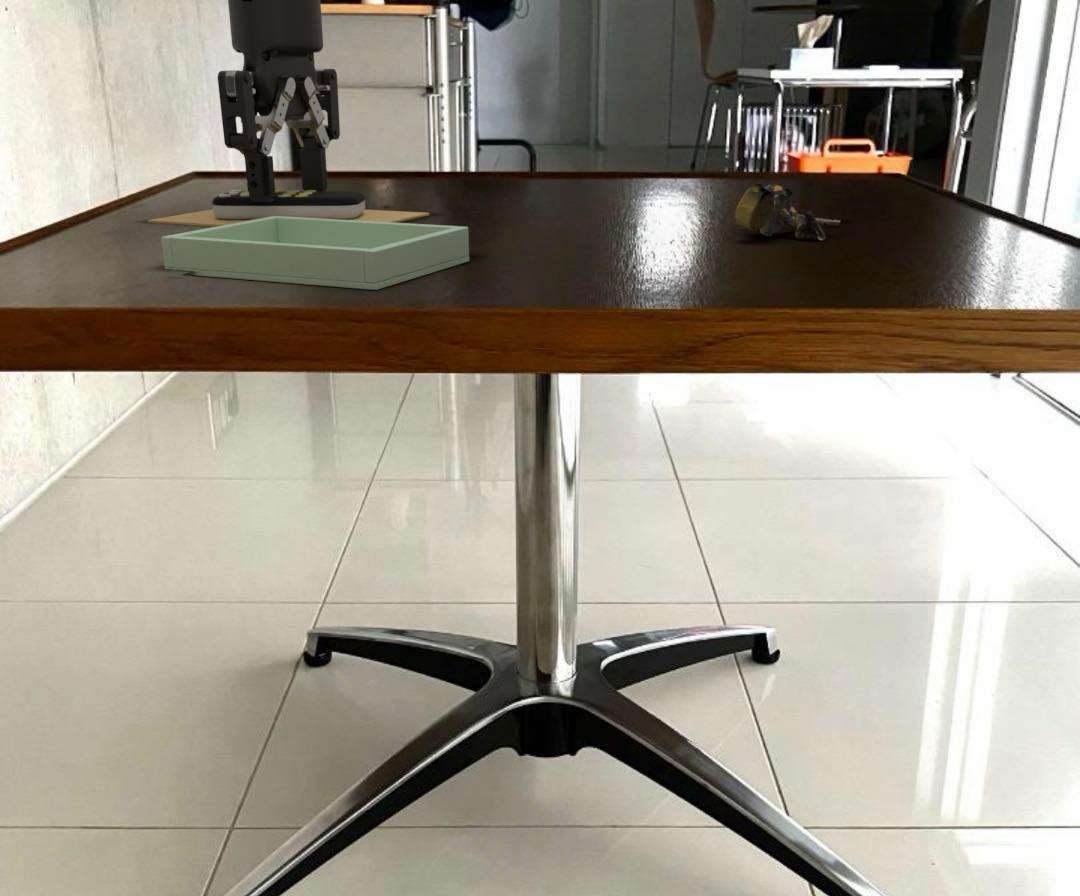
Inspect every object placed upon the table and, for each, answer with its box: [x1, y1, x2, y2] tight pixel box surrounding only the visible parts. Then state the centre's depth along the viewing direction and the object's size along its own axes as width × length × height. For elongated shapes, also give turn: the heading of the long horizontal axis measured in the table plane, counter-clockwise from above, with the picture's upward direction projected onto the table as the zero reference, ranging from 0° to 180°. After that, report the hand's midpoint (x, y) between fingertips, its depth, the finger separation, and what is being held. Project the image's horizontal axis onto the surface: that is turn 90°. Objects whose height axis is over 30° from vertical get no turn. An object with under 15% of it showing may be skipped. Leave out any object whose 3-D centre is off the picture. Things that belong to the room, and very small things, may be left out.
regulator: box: [734, 183, 841, 241], centre depth 98 cm, size 8×4×15 cm
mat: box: [147, 208, 430, 227], centre depth 108 cm, size 20×14×1 cm
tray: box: [160, 216, 470, 291], centre depth 84 cm, size 17×13×2 cm
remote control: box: [211, 189, 366, 220], centre depth 107 cm, size 6×13×2 cm, turn 89°
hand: (289, 196), depth 107 cm, fingers closed on remote control, 7 cm apart
